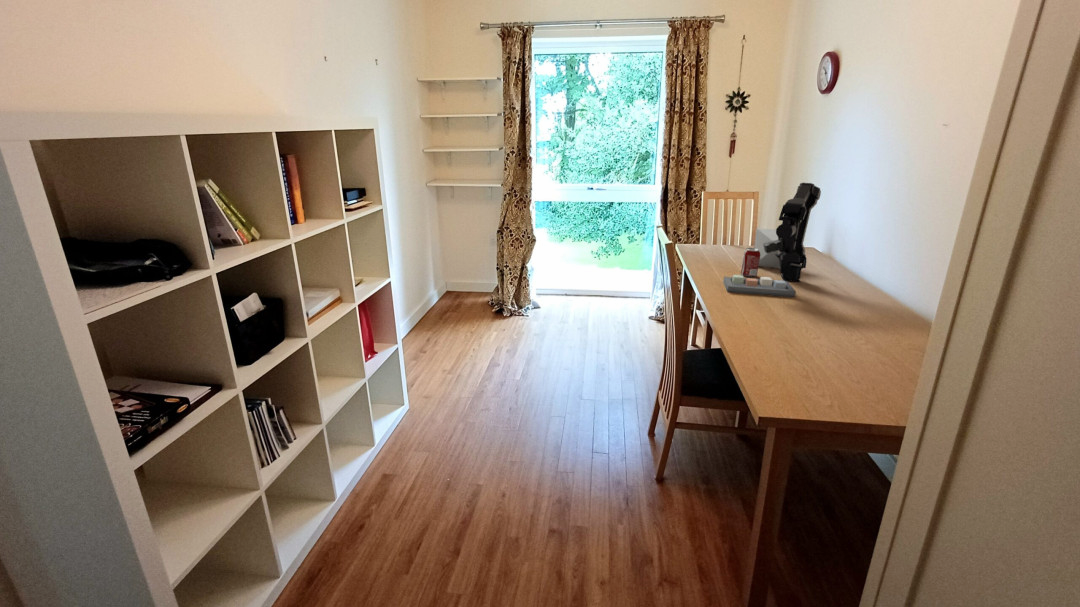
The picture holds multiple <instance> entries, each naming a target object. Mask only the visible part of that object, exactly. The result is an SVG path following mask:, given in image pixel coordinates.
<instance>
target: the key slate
mask: <svg viewBox="0 0 1080 607" xmlns="http://www.w3.org/2000/svg"><path fill="white" fill-rule="evenodd" d="M773 280H774V285H773V286H774V288H780V289H786V284H787V283H786V282H785V281H784V280H781V279H780V280H777V279H773Z"/></svg>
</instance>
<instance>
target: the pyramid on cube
mask: <svg viewBox="0 0 1080 607" xmlns="http://www.w3.org/2000/svg"><path fill="white" fill-rule="evenodd" d="M775 240H778V236H777V235H776V229H772V228H756V231H755V237H754V244H753V246H754V247H753V248H757V249H759V250H760V251H759V252H760V260H759V266H764V267H763V268H770V267H774V268H773V269H780V265H779V259H778V258H777V256H776V255H775V254H778V251H775V252H770V253H766V252H765V250H764V246H763V244H764V243H766V242H770V241H775Z"/></svg>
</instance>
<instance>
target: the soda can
mask: <svg viewBox="0 0 1080 607" xmlns="http://www.w3.org/2000/svg"><path fill="white" fill-rule="evenodd" d="M759 251H760V250H759V249H757V248H754V247H747V248H745V250H744V251H743V256H742V262H741V263H742V264H741V269H740V275H743V277H745V278H754V277H756V276H758V271H759V267H758V266H759V260H760V252H759Z"/></svg>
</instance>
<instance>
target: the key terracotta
mask: <svg viewBox="0 0 1080 607" xmlns="http://www.w3.org/2000/svg"><path fill="white" fill-rule="evenodd" d="M745 278H746V283H745V284H746V286H754V287H757V283H758V281H757V279H758V278H754V277H745Z"/></svg>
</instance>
